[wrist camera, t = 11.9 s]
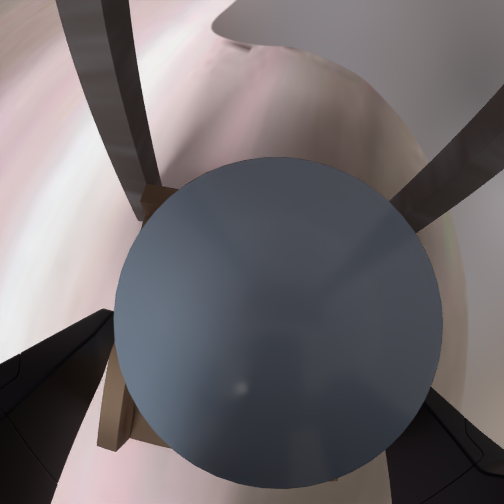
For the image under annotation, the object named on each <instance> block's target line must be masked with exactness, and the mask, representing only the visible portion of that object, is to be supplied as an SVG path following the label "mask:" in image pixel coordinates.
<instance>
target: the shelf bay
mask: <svg viewBox="0 0 504 504" xmlns="http://www.w3.org/2000/svg"><path fill="white" fill-rule="evenodd" d="M56 4H57V7H58V11H59V15H60V19H61V22H62V26H63V29H64V33H65V36H66V40H67V43H68V46H69V49H70V53H71V56H72V59H73V62H74V65H75V68H76V71H77V74H78V77H79V80H80V83H81V86H82V88H83V91H84V94H85V97H86V100H87V102H88V105H89V108H90V110H91V113H92V116H93V118H94V121H95V123H96V126H97V128H98V131H99V133H100V136H101V138H102V141H103V143H104V146H105V148H106V151H107V153H108V155H109V158H110V160H111V162H112V165H113V167H114V169H115V172H116V174H117V176H118V178H119V181H120V183H121V185H122V187H123V189H124V192H125V194H126V196H127V198H128V200H129V203H130V205H131V207H132V209H133V211H134V213H135V215H136V217H137V219H138V221H143V224H142V228H143V227H144V225H145V224H146V223H147V221H148V220H149V219H150V217H151V216H152V215H153V214H154V212H155V211H156V210H157V209H158V208H159V207H160V206H161V205H162V204H163V203H164V202H165V201H166V200H167V199H168V198H169V197H170V196H172V195H173V194H174V193H176V192H177V191H178V190H179V189H174V188H168V187H162V184H161V180H160V176H159V171H158V167H157V163H156V158H155V154H154V149H153V145H152V140H151V135H150V130H149V125H148V121H147V115H146V110H145V105H144V100H143V94H142V89H141V83H140V77H139V71H138V65H137V59H136V53H135V46H134V39H133V32H132V24H131V16H130V8H129V0H56ZM503 169H504V85H503V86H502V87H501V88H500V89H499V90H498V91H497V93H496V94H495V95H494V96H493V97H492V98H491V99H490V100H489V102H488V103H487V104H486V105H485V106H484V107H483V108H482V109H481V110H480V111H479V112H478V113H477V114H476V115H475V117H474V118H473V119H472V120H471V121H470V122H469V123H468V124H467V125H466V126H465V127H464V128H463V129H462V130H461V131H460V132H459V133H458V134H457V135H456V136H455V137H454V138H453V139H452V140H451V142H450V143H449V144H448V145H447V146H446V147H445V148H444V149H443V150H442V151H441V152H440V153H439V154H438V155H437V156H436V157H435V158H434V159H433V160H432V161H431V162H430V163H429V164H428V165H427V166H426V167H425V168H424V169H422V170H421V171H420V172H419V173H418V174H417V175H416V176H415V177H414V178H413V179H412V180H411V181H410V182H409V183H408V184H407V185H406V186H405V187H404V188H403V189H402V190H401V191H400V192H399V193H398V194H397V195H395V196H394V197H393V198H392V199H391V200H390V201H389V202H390V203H391V204H392V205H393V206H394V207H395V208H396V209H397V211H398V212H399V213H400V214H401V215H402V216H403V217H404V218H405V220H406V221H407V222H408V224H409V225H410V226H411V228H412V229H413V230H414V232H415V233H417V232H418V231H420V230H421V229H423V228H424V227H425V226H427V225H428V224H430V223H431V222H433V221H434V220H436V219H437V218H438V217H440V216H441V215H443V214H444V213H445V212H447V211H448V210H450V209H451V208H452V207H454V206H455V205H457V204H458V203H459V202H461V201H462V200H463V199H465V198H466V197H468V196H469V195H470V194H471V193H473V192H474V191H476V190H477V189H478V188H479V187H481V186H482V185H484V184H485V183H486V182H487V181H489V180H490V179H491V178H493V177H494V176H495V175H496V174H498V173H499V172H500V171H502V170H503ZM142 228H141V229H142ZM129 438H132V439H135V440H139V441H143V442H146V443H150V444H154V445H158V446H162V447H166V448H171V447H170V446H169V445H167V444H166V443H165V442H164V441H163V440H162V439H161V438H160V437H159V436H158V435H157V434H156V433H155V431H154V430H153V429H152V427H151V426H150V425H149V424H148V422H147V421H146V420H145V418H144V417H143V416H142V414H141V413H140V411H139V409H138V407H137V406H136V404H135V402H134V400H133V398H132V396H131V395H130V393H129V391H128V388H127V385H126V383H125V380H124V377H123V375H122V372H121V369H120V365H119V361H118V356H117V351H116V346H115V342H114V345H113V347H112V350H111V353H110V356H109V361H108V367H107V373H106V379H105V385H104V391H103V398H102V405H101V413H100V421H99V430H98V439H97V446H99V447H102V448H105V449H108V450H111V451H114V452H116V451H117V450H118V449H119V448H120V447H121V446H122V445H123V444H124V443H125V442H126V441H127V440H128V439H129ZM171 449H172V448H171ZM337 480H338V478H336V479H334V480H331V481H337Z"/></svg>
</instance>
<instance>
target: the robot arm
mask: <svg viewBox="0 0 504 504" xmlns="http://www.w3.org/2000/svg"><path fill="white" fill-rule="evenodd" d="M114 342H115V336H114V311H111V310H107V309H101V310H99V311H97V312H95V313H93V314H91V315H89V316H88V317H86V318H84V319H82V320H80V321H78V322H76V323H75V324H73V325H71V326H69V327H67V328H65V329H63V330H62V331H60V332H58V333H56V334H54V335H52V336H51V337H49V338H47V339H45V340H43V341H41V342H40V343H38V344H36V345H34V346H32V347H30V348H29V349H27V350H25V351H23V352H21V355H20V354H18V355H16V356H14V357H12V358H10V359H8V360H7V361H5V362H3V363H1V364H0V504H51V501H52V499H53V496H54V493H55V490H56V487H57V483H58V481H59V479H60V476H61V473H62V471H63V468H64V465H65V463H66V460H67V458H68V455H69V453H70V450H71V448H72V445H73V443H74V440H75V438H76V435H77V433H78V431H79V428H80V426H81V424H82V421H83V419H84V417H85V414H86V412H87V410H88V408H89V405H90V403H91V401H92V399H93V397H94V394H95V392H96V390H97V388H98V386H99V384H100V381H101V379H102V377H103V374H104V371H105V368H106V365H107V362H108V359H109V356H110V353H111V350H112V347H113V345H114ZM386 457H387V464H388V472H389V479H390V488H391V497H392V504H504V449H502V448H501V447H500V446H499V445H497V444H496V443H495V442H493V441H492V440H491V439H490V438H488V437H487V436H486V435H485V434H483V433H482V432H481V431H480V430H479V429H477V428H476V427H475V426H474V425H473V424H472V423H471V422H469V421H468V420H467V419H466V418H464V416H463V415H462V414H461V413H460V412H458V411H457V410H456V409H455V408H454V407H453V406H452V405H451V404H450V403H449V402H447V401H446V400H445V399H444V398H443V397H442V396H441V395H440V394H438V393H437V392H436V391H435V390H434V389H433V388H432V387H430V389H429V391H428V394H427V396H426V398H425V400H424V402H423V404H422V405H421V407H420V409H419V411H418V412H417V414H416V416H415V417H414V418H413V420H412V421H411V422H410V424H409V425H408V426H407V428H406V429H405V430H404V432H403V433H402V434H401V435H400V436H399V437H398V438H397V439H396V440H395V441H394V442H393V443H392V444H391V445H390V446H389V447H388V448H387V449H386Z"/></svg>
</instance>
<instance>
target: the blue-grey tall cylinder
mask: <svg viewBox="0 0 504 504" xmlns="http://www.w3.org/2000/svg"><path fill="white" fill-rule="evenodd" d="M442 329H443V318H442V305H441V298H440V293H439V288H438V283H437V280H436V277H435V274H434V271H433V267H432V265H431V262H430V260H429V258H428V256H427V253H426V251H425V249H424V247H423V245H422V244H421V242H420V240H419V238H418V237H417V235H416V233H415V232H414V230H413V229H412V228H411V226H410V225H409V224H408V222H407V221H406V220H405V218H404V217H403V216H402V215H401V214H400V213H399V212H398V211H397V209H396V208H395V207H394V206H393V205H392V204H391V203H390V202H389V201H387V200H386V199H385V198H384V197H383V196H382V195H380V194H379V193H378V192H377V191H376V190H374V189H373V188H371V187H370V186H368V185H367V184H365V183H364V182H362V181H361V180H359V179H357V178H355V177H353V176H351V175H349V174H347V173H345V172H343V171H341V170H338V169H336V168H333V167H330V166H327V165H325V164H321V163H317V162H313V161H309V160H304V159H295V158H287V157H265V158H257V159H249V160H244V161H240V162H236V163H232V164H228V165H225V166H222V167H220V168H217V169H215V170H212V171H210V172H207V173H205V174H203V175H202V176H200V177H198V178H196V179H194V180H193V181H191V182H189V183H188V184H186V185H185V186H184V187H182V188H181V189H180V190H178V191H177V192H176V193H174V194H173V195H172V196H170V197H169V198H168V199H167V200H166V201H165V202H164V203H163V204H162V205H161V206H160V207H159V208H158V209H157V210H156V211H155V212H154V214H153V215H152V216H151V217H150V219H149V220H148V221H147V223H146V224H145V225H144V227H143V228H142V229H141V231H140V233H139V234H138V236H137V238H136V240H135V241H134V243H133V245H132V247H131V248H130V251H129V253H128V255H127V258H126V260H125V263H124V266H123V268H122V271H121V275H120V279H119V283H118V287H117V291H116V297H115V308H114V336H115V346H116V351H117V356H118V361H119V365H120V369H121V372H122V375H123V377H124V380H125V383H126V385H127V388H128V391H129V393H130V395H131V396H132V398H133V400H134V402H135V404H136V406H137V407H138V409H139V411H140V413H141V414H142V416H143V417H144V418H145V420H146V421H147V422H148V424H149V425H150V426H151V427H152V429H153V430H154V431H155V433H156V434H157V435H158V436H159V437H160V438H161V439H162V440H163V441H164V442H165V443H166V444H167V445H169V446H170V447H171V448H172V449H173V450H174V451H175V452H177V453H178V454H179V455H181V456H182V457H183V458H185V459H186V460H188V461H189V462H191V463H192V464H193V465H195V466H197V467H199V468H201V469H203V470H205V471H207V472H209V473H211V474H213V475H215V476H217V477H220V478H223V479H226V480H229V481H232V482H235V483H238V484H243V485H248V486H253V487H259V488H275V489H289V488H298V487H307V486H312V485H316V484H320V483H324V482H327V481H331V480H334V479H336V478H339V477H341V476H343V475H346V474H348V473H351V472H353V471H354V470H356V469H358V468H360V467H361V466H363V465H365V464H366V463H368V462H370V461H371V460H373V459H374V458H375V457H377V456H378V455H379V454H380V453H382V452H383V451H384V450H386V449H387V448H388V447H389V446H390V445H391V444H392V443H393V442H394V441H395V440H396V439H397V438H398V437H399V436H400V435H401V434H402V433H403V432H404V430H405V429H406V428H407V426H408V425H409V424H410V422H411V421H412V420H413V418H414V417H415V416H416V414H417V412H418V411H419V409H420V407H421V405H422V404H423V402H424V400H425V398H426V396H427V394H428V391H429V389H430V387H431V384H432V382H433V379H434V376H435V373H436V369H437V366H438V362H439V357H440V351H441V344H442Z"/></svg>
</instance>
